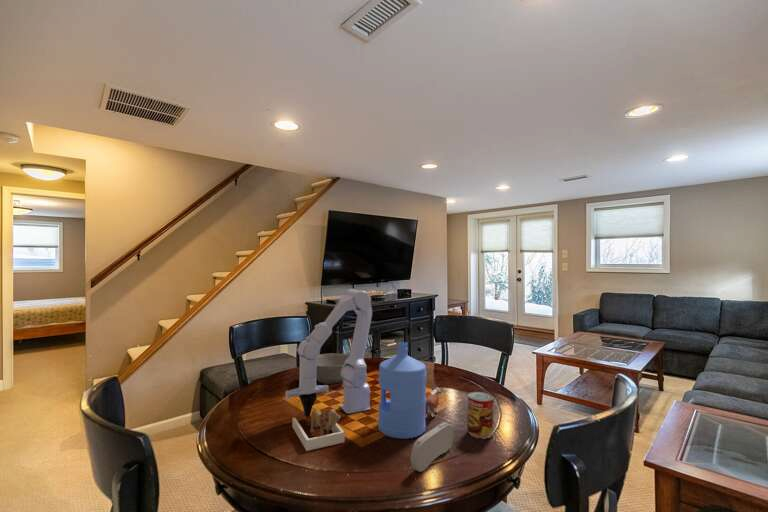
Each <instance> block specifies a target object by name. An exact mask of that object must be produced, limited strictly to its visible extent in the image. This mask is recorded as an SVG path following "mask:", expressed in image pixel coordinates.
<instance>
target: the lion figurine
mask: <svg viewBox="0 0 768 512" xmlns="http://www.w3.org/2000/svg"><path fill="white" fill-rule="evenodd" d="M340 419H341V415H340V414H338V413H337V412H336V409H334V408H331V409H329V410H328V409H327V410H326V411H323V412H321V410H320V408H314V409H313V410H311V413H310V421H309V422H308V423H306V425H307V426H310V433H311V434H312V433H314V431H315V430H314V427H315V428H318V427H320V430H319V431H320V436H323V435H328V434H330V430H331V428H332V427H333V426H335V425H336V423H338V422H339V421H340ZM325 430H326V432H325ZM324 433H325V434H324Z"/></svg>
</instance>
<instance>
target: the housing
mask: <svg viewBox="0 0 768 512" xmlns="http://www.w3.org/2000/svg"><path fill="white" fill-rule="evenodd" d="M292 429H293V430H294V432H295V434H296V435H297V437H298V440H300V443H301V444H302V446H303V448H304V449H305V451H306V452H308V451H312V450H317V449H321V448H325V447H330V446H334V445H339V444H343V443H345V439H346V438H345V433H346V432H345V431H344V430H343V429H342V428H341V426H340V425H339V424H338V422H336V425H335V426H333V427H332V428H331V429H330V430H331V431H332V433H329V434H328V435H326V434H324V435H323V436H321V435H320V436H315V437H310V438H309V437H308V435H307V434H306V432H305V431H304V429H303V427H302V426H301V424H300V423H299V421H298V419H297V418H296V417H292Z"/></svg>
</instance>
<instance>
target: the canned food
mask: <svg viewBox="0 0 768 512" xmlns="http://www.w3.org/2000/svg"><path fill="white" fill-rule="evenodd" d="M468 431H469V432H471V433H473V434H477V435H489V434H491V433H492V432H493V433H494V396H493V395H491V394H489V393H487V392H483V391H471V392H469V393H468V395H467V432H468Z"/></svg>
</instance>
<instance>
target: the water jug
mask: <svg viewBox="0 0 768 512" xmlns="http://www.w3.org/2000/svg"><path fill="white" fill-rule="evenodd" d="M397 344H398V348H397V350H398V352H397V355H395V356H392V357H391V358H387V359H385V360H382V361H381V362H380V363H379V369H378V386H379V387H380V402H379V404H378V419H377V426H378V427H377V428H378V431H379V432H380V433H382V434H383V436H384V435H385V436H387V437H388V438H389V437H390V438H392V439H400V440H408V439H409V438H410V439H414V437H415V438H418V437H420V436H421V435H423V433H424V432H425V431H426V419H425V405H426V399H427V395H426V394H427V392H426V390H427V389H426V388H427V385H426V384H427V383H426V382H427V366H426V364H425V363H424V362H422V361H420V360H418V359H416V358H414V357H412V356H409V354H408V349H409V348H408V345H409V344H408V342H405V341H401V342H398V343H397ZM387 392H388V393H389V395H390V398H389V399H386V398H387ZM419 435H420V436H419ZM417 436H418V437H417Z"/></svg>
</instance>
